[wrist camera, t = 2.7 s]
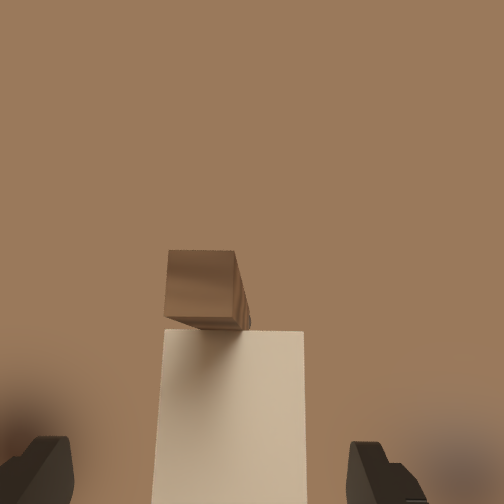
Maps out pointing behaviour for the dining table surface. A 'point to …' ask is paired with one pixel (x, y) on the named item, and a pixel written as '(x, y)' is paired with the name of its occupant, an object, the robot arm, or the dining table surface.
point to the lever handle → (206, 290)
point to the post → (231, 418)
